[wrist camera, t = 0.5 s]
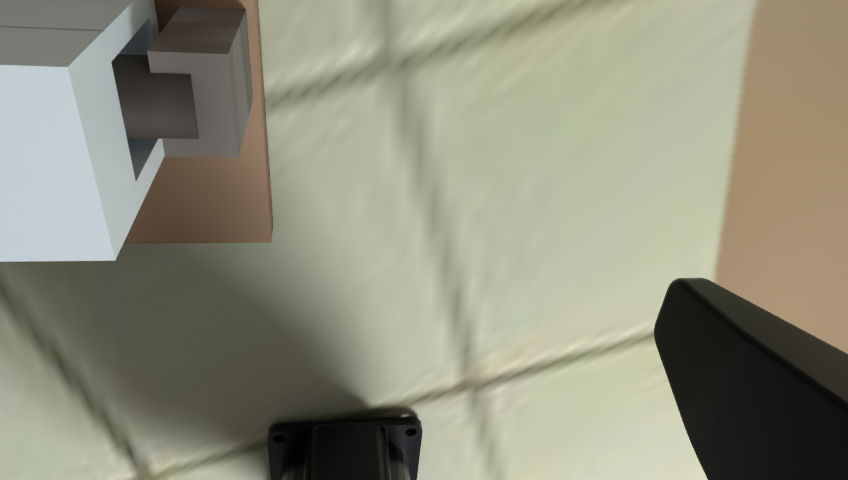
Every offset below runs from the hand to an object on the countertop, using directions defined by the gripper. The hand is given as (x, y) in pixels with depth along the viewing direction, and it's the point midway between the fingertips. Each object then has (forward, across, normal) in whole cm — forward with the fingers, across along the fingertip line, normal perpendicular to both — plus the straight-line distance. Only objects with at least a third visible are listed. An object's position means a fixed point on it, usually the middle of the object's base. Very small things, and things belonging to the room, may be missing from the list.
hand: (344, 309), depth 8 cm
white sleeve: (+10, +6, 0) cm, 12 cm away
